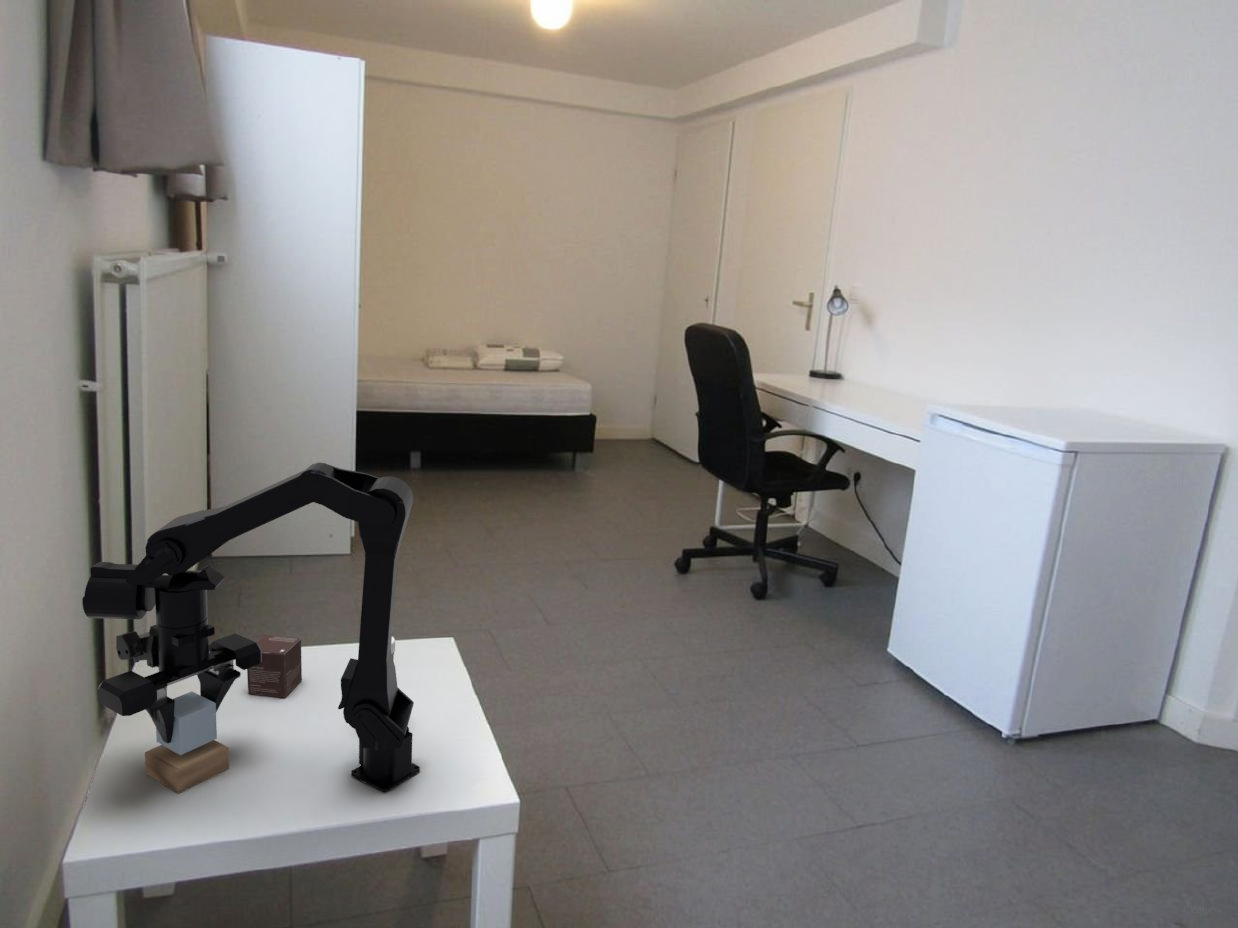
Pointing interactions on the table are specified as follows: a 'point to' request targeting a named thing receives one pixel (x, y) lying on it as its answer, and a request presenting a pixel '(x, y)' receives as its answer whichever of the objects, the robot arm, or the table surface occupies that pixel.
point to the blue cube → (191, 723)
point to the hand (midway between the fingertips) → (186, 732)
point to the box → (276, 667)
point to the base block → (186, 765)
